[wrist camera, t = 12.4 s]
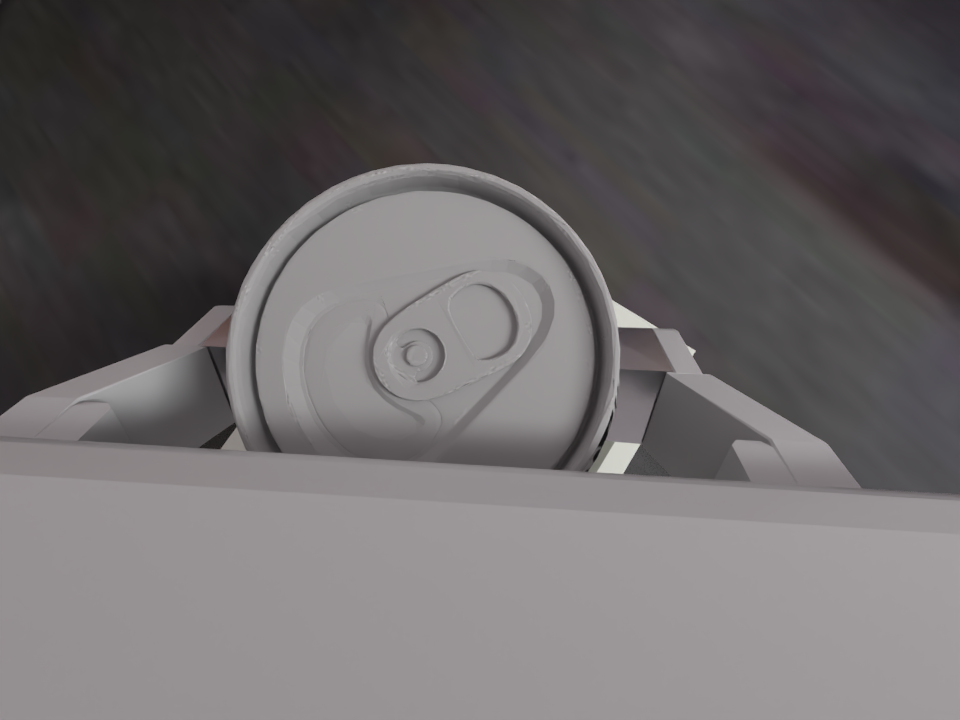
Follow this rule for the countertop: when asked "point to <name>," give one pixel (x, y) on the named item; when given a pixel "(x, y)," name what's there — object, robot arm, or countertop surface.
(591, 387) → the beverage can
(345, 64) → the countertop surface
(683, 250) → the countertop surface
